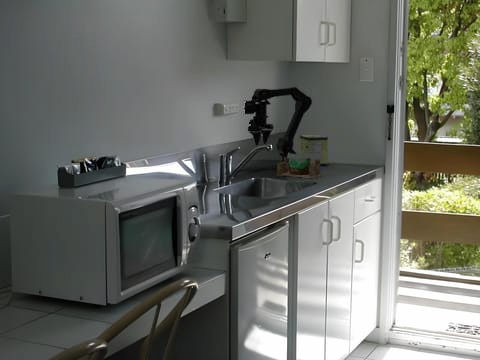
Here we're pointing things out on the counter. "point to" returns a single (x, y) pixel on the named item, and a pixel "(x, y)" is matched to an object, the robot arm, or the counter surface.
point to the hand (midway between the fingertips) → (260, 144)
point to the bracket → (284, 171)
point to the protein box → (315, 148)
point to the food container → (299, 163)
